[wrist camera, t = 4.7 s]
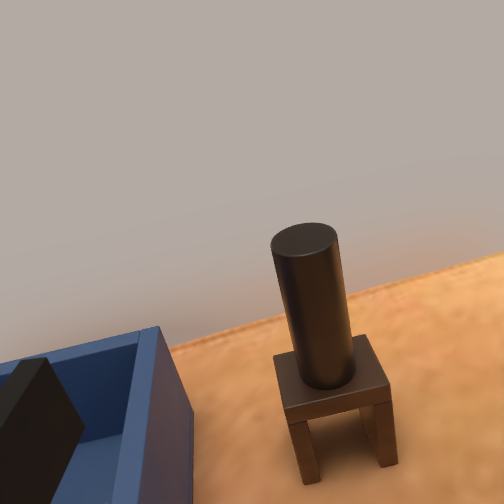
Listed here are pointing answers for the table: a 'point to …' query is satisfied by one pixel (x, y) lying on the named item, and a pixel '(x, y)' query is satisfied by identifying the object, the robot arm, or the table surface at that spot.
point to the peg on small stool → (325, 348)
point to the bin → (125, 421)
